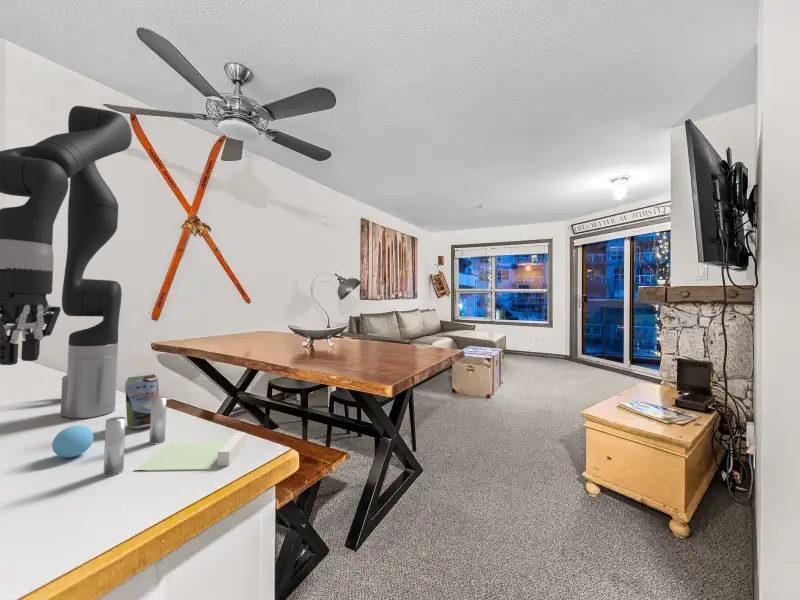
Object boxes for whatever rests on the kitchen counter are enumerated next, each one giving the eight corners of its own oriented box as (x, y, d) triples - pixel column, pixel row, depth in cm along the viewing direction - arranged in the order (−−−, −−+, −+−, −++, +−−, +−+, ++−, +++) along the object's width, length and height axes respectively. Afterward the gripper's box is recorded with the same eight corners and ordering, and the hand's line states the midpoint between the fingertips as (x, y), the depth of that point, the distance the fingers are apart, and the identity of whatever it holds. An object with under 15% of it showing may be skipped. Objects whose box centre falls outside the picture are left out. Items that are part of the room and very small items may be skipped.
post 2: (146, 444, 69) (148, 399, 69) (154, 439, 72) (156, 396, 72) (160, 444, 69) (162, 399, 69) (167, 439, 72) (169, 396, 72)
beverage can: (142, 433, 74) (144, 378, 74) (114, 429, 76) (117, 375, 76) (167, 423, 80) (169, 372, 80) (141, 419, 82) (143, 369, 82)
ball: (42, 463, 60) (43, 432, 60) (68, 449, 65) (70, 421, 65) (77, 463, 60) (78, 432, 60) (100, 449, 66) (101, 421, 66)
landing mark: (133, 471, 59) (133, 470, 59) (171, 442, 70) (172, 441, 70) (207, 469, 60) (207, 468, 60) (232, 441, 72) (232, 440, 72)
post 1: (99, 476, 56) (101, 422, 56) (110, 468, 59) (113, 416, 59) (116, 476, 57) (118, 422, 57) (127, 468, 59) (129, 416, 59)
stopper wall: (217, 465, 62) (217, 451, 62) (235, 444, 70) (235, 432, 71) (228, 465, 62) (229, 451, 62) (245, 444, 71) (245, 432, 71)
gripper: (37, 269, 68) (33, 355, 68) (-46, 262, 54) (-52, 370, 54) (78, 271, 69) (74, 356, 69) (7, 264, 55) (2, 371, 55)
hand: (19, 362), depth 62 cm, fingers open, 3 cm apart
